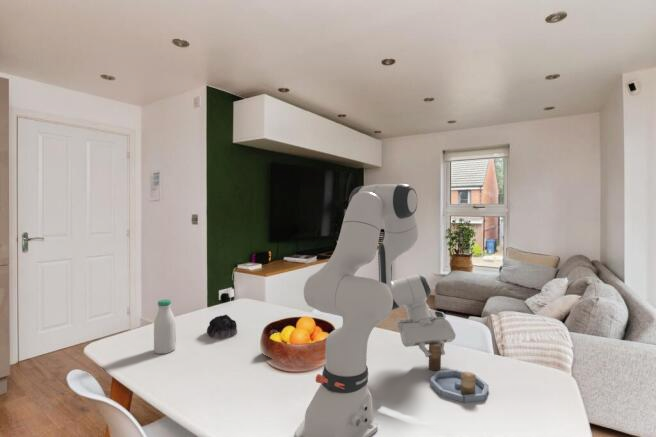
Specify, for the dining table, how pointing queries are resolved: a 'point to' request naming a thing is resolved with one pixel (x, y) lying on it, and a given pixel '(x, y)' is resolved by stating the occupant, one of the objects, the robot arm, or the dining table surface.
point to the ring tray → (457, 386)
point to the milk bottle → (164, 329)
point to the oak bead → (468, 383)
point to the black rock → (222, 327)
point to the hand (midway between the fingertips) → (435, 355)
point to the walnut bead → (435, 356)
